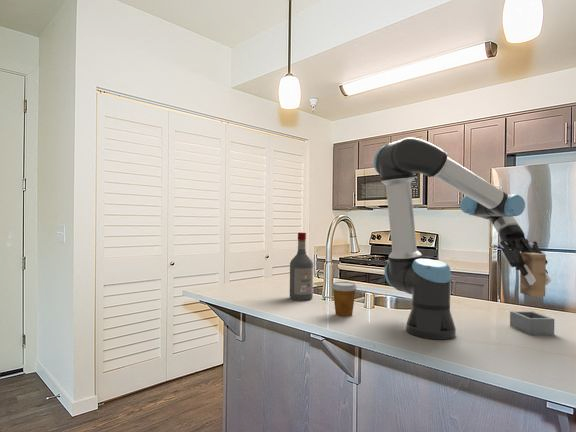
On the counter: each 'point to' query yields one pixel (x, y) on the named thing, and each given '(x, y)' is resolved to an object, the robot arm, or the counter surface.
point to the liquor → (301, 273)
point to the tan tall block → (534, 274)
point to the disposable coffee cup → (344, 298)
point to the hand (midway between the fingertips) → (540, 282)
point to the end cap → (531, 322)
